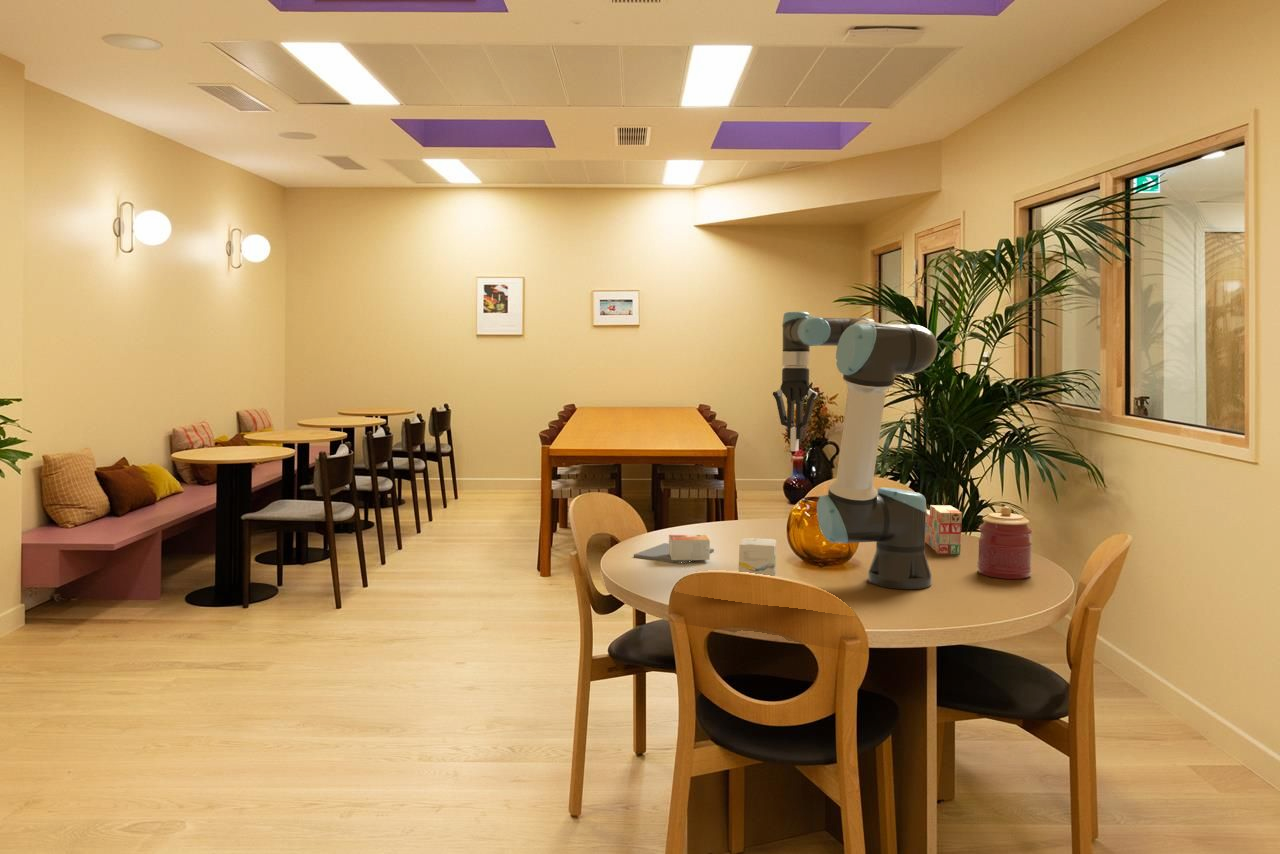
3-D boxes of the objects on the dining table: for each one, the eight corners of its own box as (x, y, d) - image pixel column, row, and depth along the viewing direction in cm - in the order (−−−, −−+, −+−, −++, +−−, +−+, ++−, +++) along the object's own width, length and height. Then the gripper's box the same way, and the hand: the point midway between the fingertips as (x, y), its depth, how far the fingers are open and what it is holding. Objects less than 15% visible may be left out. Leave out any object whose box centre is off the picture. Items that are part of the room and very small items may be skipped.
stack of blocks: (921, 539, 287) (922, 499, 286) (942, 540, 286) (943, 500, 285) (938, 554, 265) (939, 511, 265) (960, 555, 265) (962, 512, 264)
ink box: (774, 594, 220) (774, 545, 219) (737, 592, 222) (738, 543, 221) (776, 585, 229) (776, 538, 228) (741, 583, 230) (741, 537, 229)
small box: (710, 540, 252) (671, 540, 251) (710, 560, 252) (671, 560, 252) (706, 534, 260) (668, 534, 259) (705, 554, 260) (668, 554, 260)
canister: (966, 570, 246) (968, 503, 244) (1005, 566, 250) (1007, 501, 249) (1001, 581, 233) (1004, 511, 232) (1042, 577, 238) (1045, 509, 237)
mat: (713, 551, 267) (713, 548, 267) (685, 563, 251) (685, 560, 251) (664, 545, 275) (664, 543, 275) (633, 557, 259) (633, 554, 259)
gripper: (822, 367, 263) (820, 450, 265) (778, 367, 269) (777, 448, 271) (813, 367, 256) (812, 453, 258) (769, 367, 263) (767, 450, 264)
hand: (794, 450), depth 264 cm, fingers closed
